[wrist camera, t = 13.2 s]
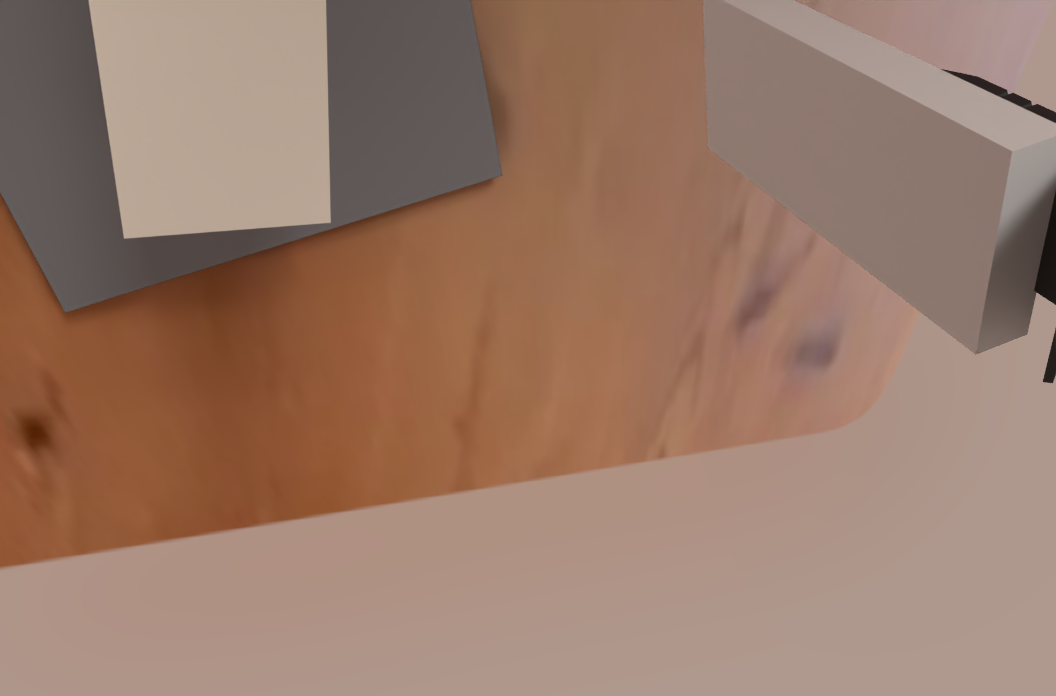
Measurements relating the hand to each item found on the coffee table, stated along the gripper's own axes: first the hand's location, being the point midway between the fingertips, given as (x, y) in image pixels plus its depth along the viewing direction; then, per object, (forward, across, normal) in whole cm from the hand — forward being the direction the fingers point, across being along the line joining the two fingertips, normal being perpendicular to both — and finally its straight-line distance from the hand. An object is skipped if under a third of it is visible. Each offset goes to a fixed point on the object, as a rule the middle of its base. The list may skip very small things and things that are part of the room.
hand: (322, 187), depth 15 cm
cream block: (+22, 0, 0) cm, 22 cm away
